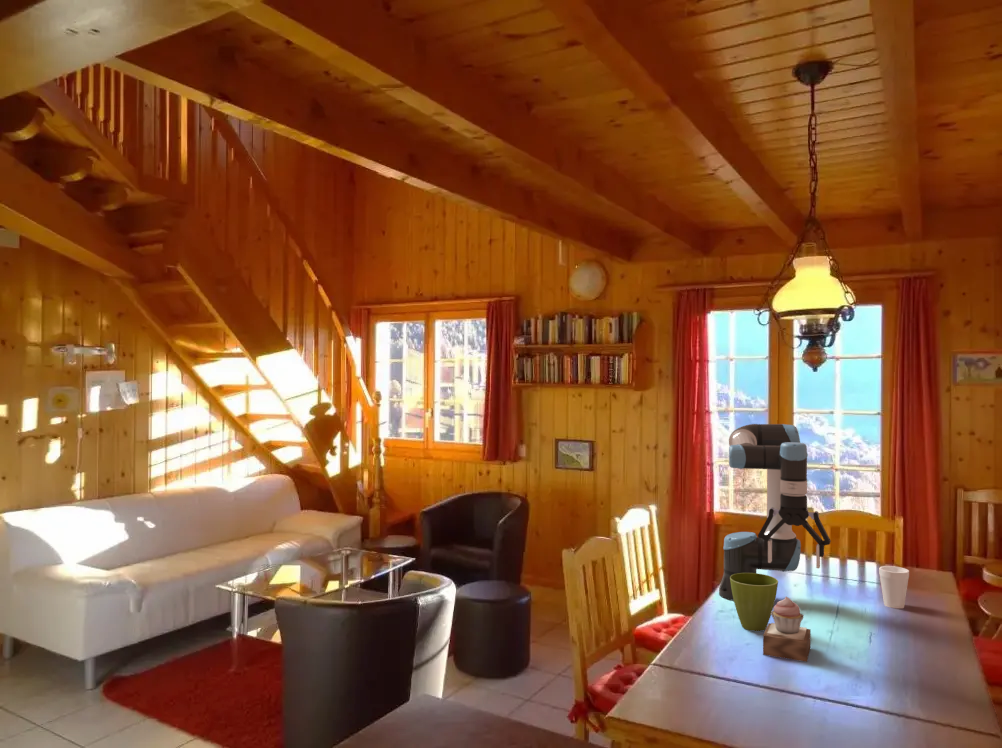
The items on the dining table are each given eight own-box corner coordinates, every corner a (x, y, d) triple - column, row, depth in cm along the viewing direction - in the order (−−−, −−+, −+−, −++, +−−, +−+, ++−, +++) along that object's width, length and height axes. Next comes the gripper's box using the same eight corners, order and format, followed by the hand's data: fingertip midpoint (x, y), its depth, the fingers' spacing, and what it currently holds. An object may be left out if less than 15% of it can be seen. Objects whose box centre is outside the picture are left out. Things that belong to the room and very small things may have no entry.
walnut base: (763, 654, 216) (763, 633, 216) (768, 641, 227) (768, 621, 227) (806, 661, 211) (806, 640, 211) (810, 648, 221) (810, 627, 222)
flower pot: (782, 637, 231) (781, 586, 231) (732, 634, 234) (732, 583, 234) (774, 621, 245) (774, 574, 245) (727, 618, 248) (727, 571, 248)
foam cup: (906, 611, 256) (906, 574, 256) (877, 606, 261) (877, 570, 261) (910, 604, 263) (910, 568, 263) (882, 600, 269) (882, 564, 269)
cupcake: (788, 623, 225) (787, 590, 225) (811, 633, 216) (810, 599, 216) (763, 627, 222) (763, 594, 222) (786, 637, 213) (785, 603, 213)
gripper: (748, 492, 223) (748, 562, 223) (838, 499, 211) (838, 572, 212) (752, 489, 230) (752, 556, 230) (840, 495, 218) (840, 566, 218)
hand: (793, 564), depth 221 cm, fingers open, 13 cm apart
